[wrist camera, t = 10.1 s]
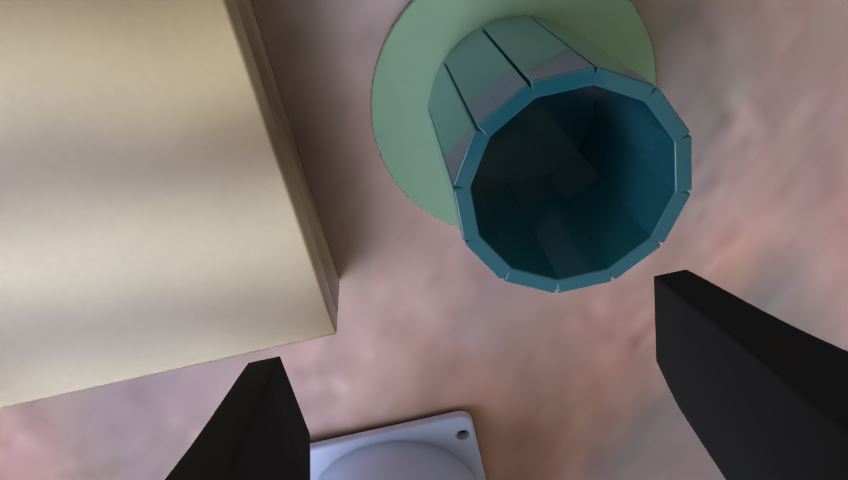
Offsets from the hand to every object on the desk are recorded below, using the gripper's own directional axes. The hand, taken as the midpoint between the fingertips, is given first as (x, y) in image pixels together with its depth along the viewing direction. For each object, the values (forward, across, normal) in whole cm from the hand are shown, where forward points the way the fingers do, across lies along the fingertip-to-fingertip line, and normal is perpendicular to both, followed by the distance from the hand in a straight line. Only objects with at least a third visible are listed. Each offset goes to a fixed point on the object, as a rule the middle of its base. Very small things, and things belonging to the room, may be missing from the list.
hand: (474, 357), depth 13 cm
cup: (+10, -3, -1) cm, 10 cm away
